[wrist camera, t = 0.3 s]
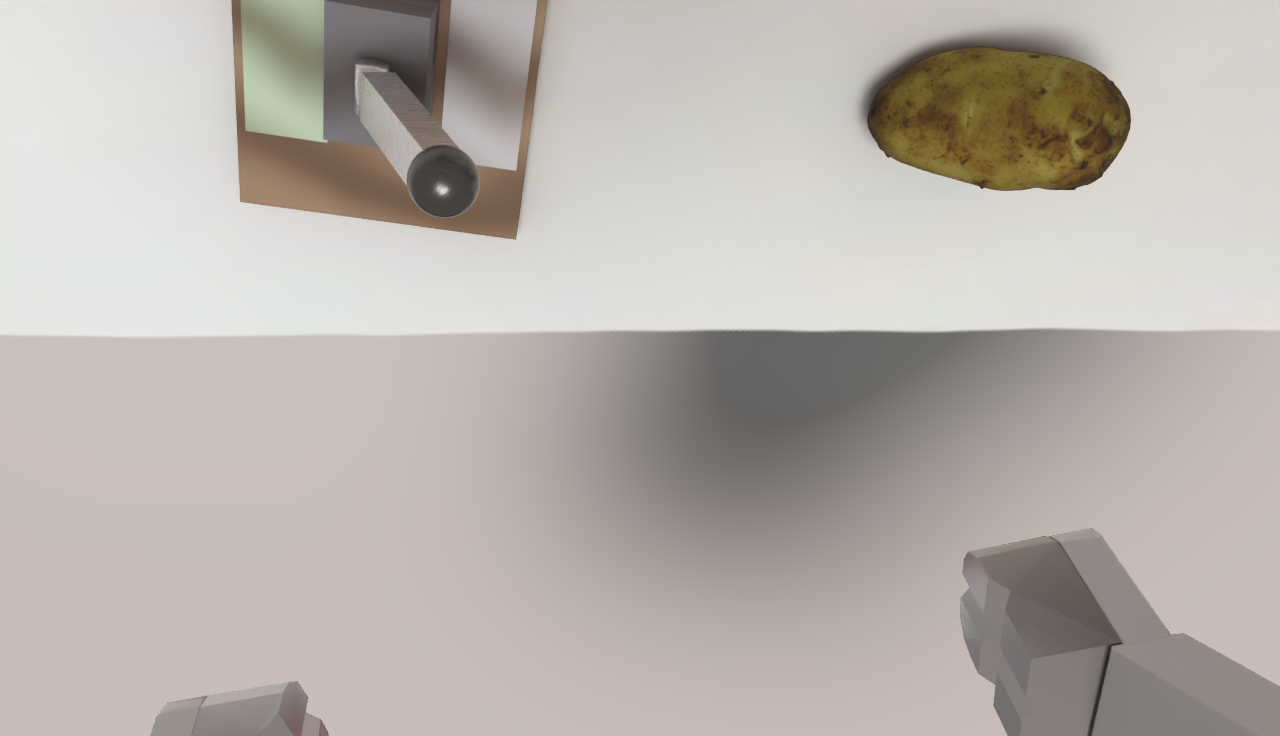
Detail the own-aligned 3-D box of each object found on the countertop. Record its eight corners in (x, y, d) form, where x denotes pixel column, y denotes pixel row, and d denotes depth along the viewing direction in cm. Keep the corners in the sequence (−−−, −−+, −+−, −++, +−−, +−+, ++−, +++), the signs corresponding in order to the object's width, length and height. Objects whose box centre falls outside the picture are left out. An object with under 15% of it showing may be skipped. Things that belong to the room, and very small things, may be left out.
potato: (908, -10, 54) (956, 31, 47) (1105, 58, 57) (1176, 105, 50) (845, 129, 58) (881, 184, 52) (1031, 186, 61) (1087, 245, 55)
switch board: (232, -190, 47) (193, -176, 42) (562, -125, 50) (562, -105, 45) (246, 191, 58) (217, 236, 53) (517, 228, 61) (512, 275, 56)
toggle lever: (336, 52, 47) (422, 164, 38) (398, 53, 48) (494, 162, 40) (335, 112, 49) (417, 232, 40) (395, 112, 50) (486, 228, 41)
